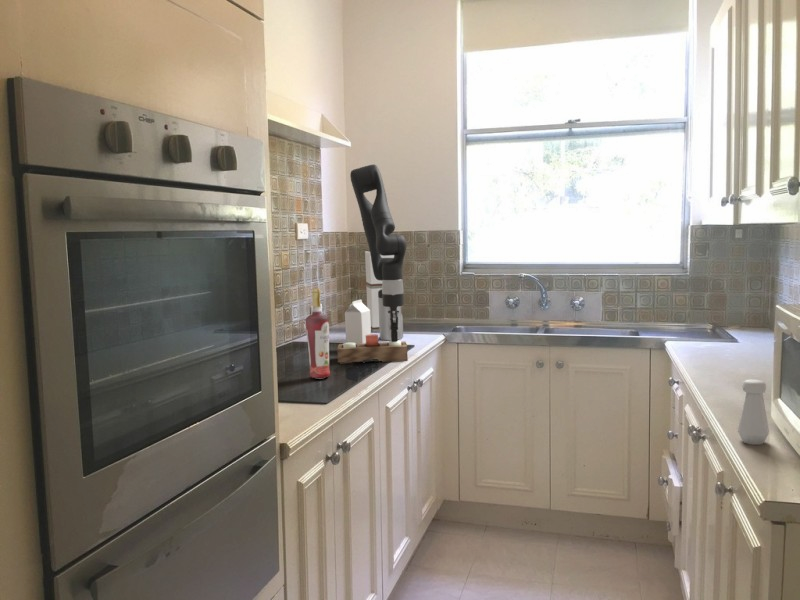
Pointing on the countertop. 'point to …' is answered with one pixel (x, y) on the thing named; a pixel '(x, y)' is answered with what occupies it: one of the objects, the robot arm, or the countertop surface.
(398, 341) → the cream white sphere
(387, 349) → the wooden ball rack
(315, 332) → the liquor
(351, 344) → the pale green sphere
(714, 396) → the countertop surface
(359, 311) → the milk carton
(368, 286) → the white notched tower
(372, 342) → the red ball
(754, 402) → the salt shaker
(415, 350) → the countertop surface
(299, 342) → the countertop surface
